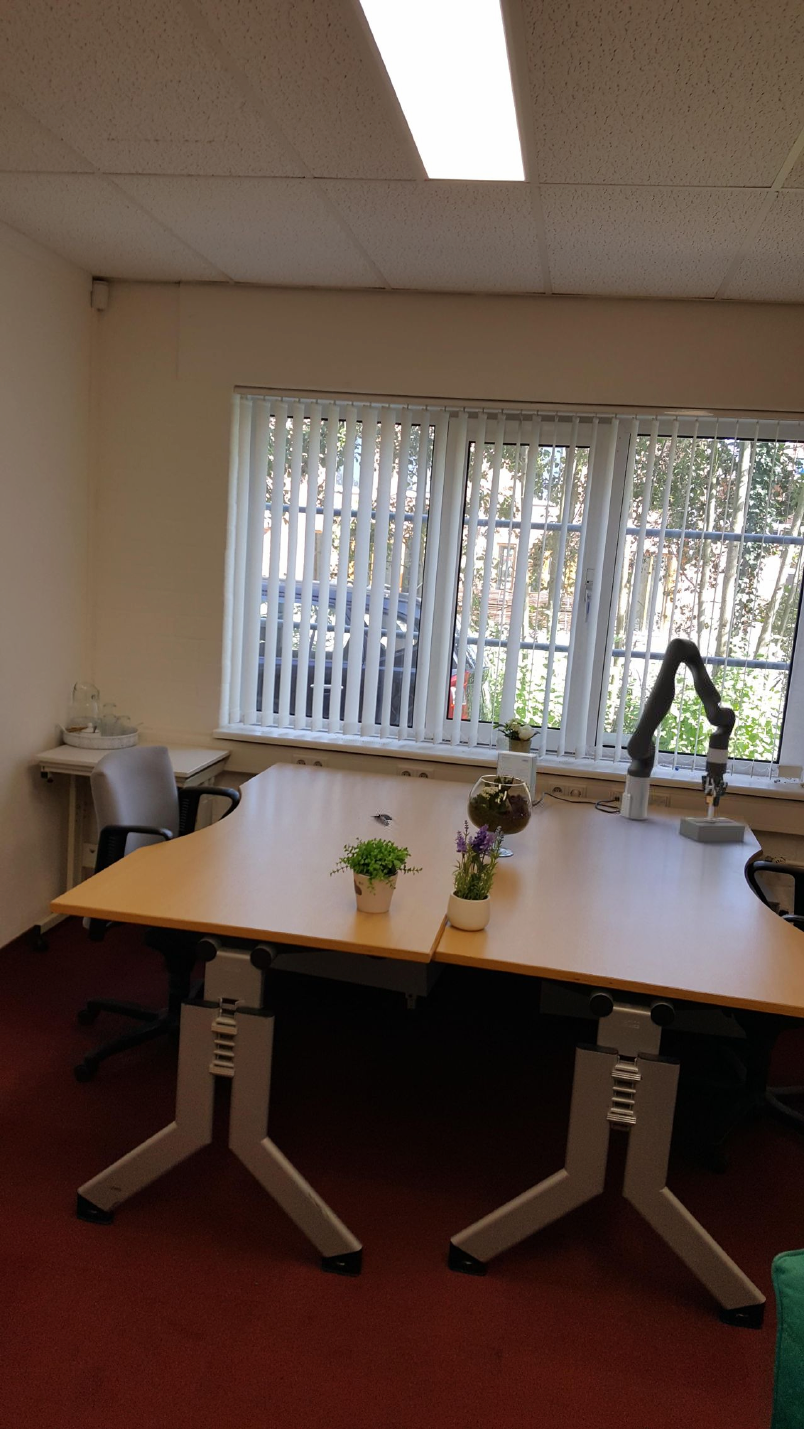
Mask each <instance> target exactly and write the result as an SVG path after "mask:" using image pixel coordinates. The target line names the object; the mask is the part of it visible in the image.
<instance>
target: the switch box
mask: <svg viewBox="0 0 804 1429" xmlns="http://www.w3.org/2000/svg"><path fill="white" fill-rule="evenodd" d="M704 818H705V817H681V818H680V823H679V831H678V832H679V834H680V835H681V836H682V835H683V836H685V837H686V838H688V839H690V840H693V841H695V842H698V843H699V842H700V843H701V842H704V843H705V842H710V843H711V842H712V843H713V842H715V843H716V842H717V843H718V842H722V843H723V842H744V840H745V839H744V838H745V830H746V825H744V824H742V823H740V822H737V821H734V820H732V819H729V818H727V817H713V819H715V820H716V822H707V821H705V820H704Z"/></svg>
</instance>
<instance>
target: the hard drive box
mask: <svg viewBox="0 0 804 1429" xmlns="http://www.w3.org/2000/svg"><path fill="white" fill-rule="evenodd" d="M496 766H497V767H496V776H497V775H508V776H512V777H515V778H519V779H520V780H523V781H524V782H525V783H527V786H528V787H529V790H530V794H531V796H532V800H533V801H532V802H534V801H535V793H536V792H535V790H536V779H537V770H538V769H537V766H538V754H536V753H535V754H533V753H527V752H526V753H525V752H518V751H517V752H516V751H511V750H502V751H499V752H497V764H496Z"/></svg>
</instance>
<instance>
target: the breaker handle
mask: <svg viewBox="0 0 804 1429" xmlns="http://www.w3.org/2000/svg"><path fill="white" fill-rule="evenodd" d="M713 797H714V795H712V796H707V800H706V802H708V803H709V804H708V811H707V812H708V813H707V817H703V818H704V820H705V821H707V822H716V820H715V819H713V818H714V814H715V813H714V812H715V807H714V806H713Z"/></svg>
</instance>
